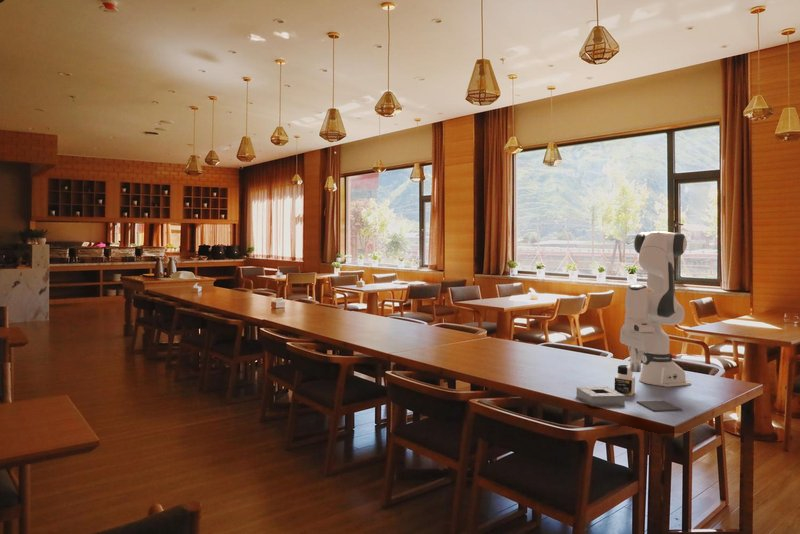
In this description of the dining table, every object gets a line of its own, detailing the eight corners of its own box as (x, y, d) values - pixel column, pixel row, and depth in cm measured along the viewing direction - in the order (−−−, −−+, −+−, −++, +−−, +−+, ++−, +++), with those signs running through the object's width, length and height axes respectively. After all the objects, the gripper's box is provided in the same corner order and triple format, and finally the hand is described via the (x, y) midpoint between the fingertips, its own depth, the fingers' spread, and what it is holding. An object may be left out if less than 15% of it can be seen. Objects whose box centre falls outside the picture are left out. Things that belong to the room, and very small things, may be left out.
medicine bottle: (614, 393, 242) (614, 366, 242) (617, 389, 248) (618, 363, 248) (631, 396, 238) (632, 368, 238) (634, 392, 244) (635, 365, 244)
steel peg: (628, 370, 227) (628, 345, 227) (637, 369, 228) (637, 345, 227) (633, 372, 223) (633, 347, 223) (642, 372, 224) (643, 347, 223)
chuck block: (607, 395, 238) (607, 386, 238) (624, 405, 224) (624, 395, 224) (576, 396, 236) (576, 387, 236) (591, 406, 223) (592, 396, 222)
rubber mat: (664, 401, 230) (664, 400, 230) (682, 410, 218) (682, 409, 218) (636, 402, 228) (636, 401, 228) (653, 411, 216) (653, 409, 216)
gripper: (616, 321, 235) (615, 353, 235) (642, 328, 214) (641, 364, 215) (630, 321, 235) (629, 353, 236) (657, 328, 215) (657, 363, 216)
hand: (635, 358), depth 225 cm, fingers closed on steel peg, 4 cm apart
